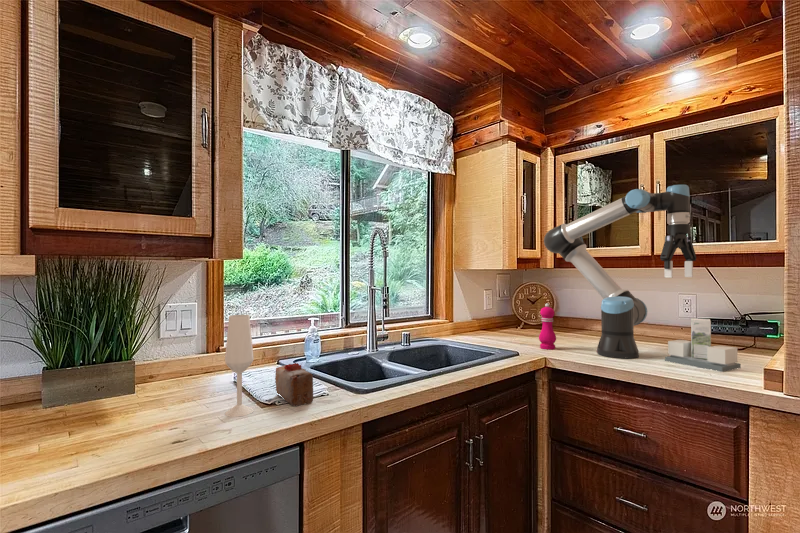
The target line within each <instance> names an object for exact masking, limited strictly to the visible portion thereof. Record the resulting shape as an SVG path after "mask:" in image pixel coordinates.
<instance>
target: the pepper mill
mask: <svg viewBox="0 0 800 533" xmlns="http://www.w3.org/2000/svg"><path fill="white" fill-rule="evenodd" d="M539 313H540V316H541V317H540V319H541V320H540V321H541V324H542V326H541V330H540V333H539V335H538V340H539V342H540V344H539V348H540V349H541V350H549V351H551V350H552V351H553V350H556V345H555V342H556V341H557V336H556V333H555V331H554V327H553V322H554V318H553V317H554V316H555V310H554V309H553V308H552V307H550V303H548V302H547V303H545V305H544V307H542V308H540V312H539Z"/></svg>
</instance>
